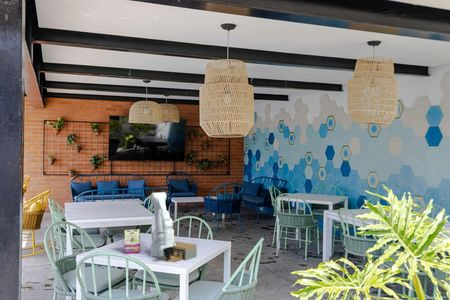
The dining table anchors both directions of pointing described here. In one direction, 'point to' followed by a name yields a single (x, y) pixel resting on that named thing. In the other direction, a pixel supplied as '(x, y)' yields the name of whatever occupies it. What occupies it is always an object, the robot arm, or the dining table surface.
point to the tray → (173, 259)
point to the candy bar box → (132, 241)
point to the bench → (189, 253)
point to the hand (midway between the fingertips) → (167, 258)
